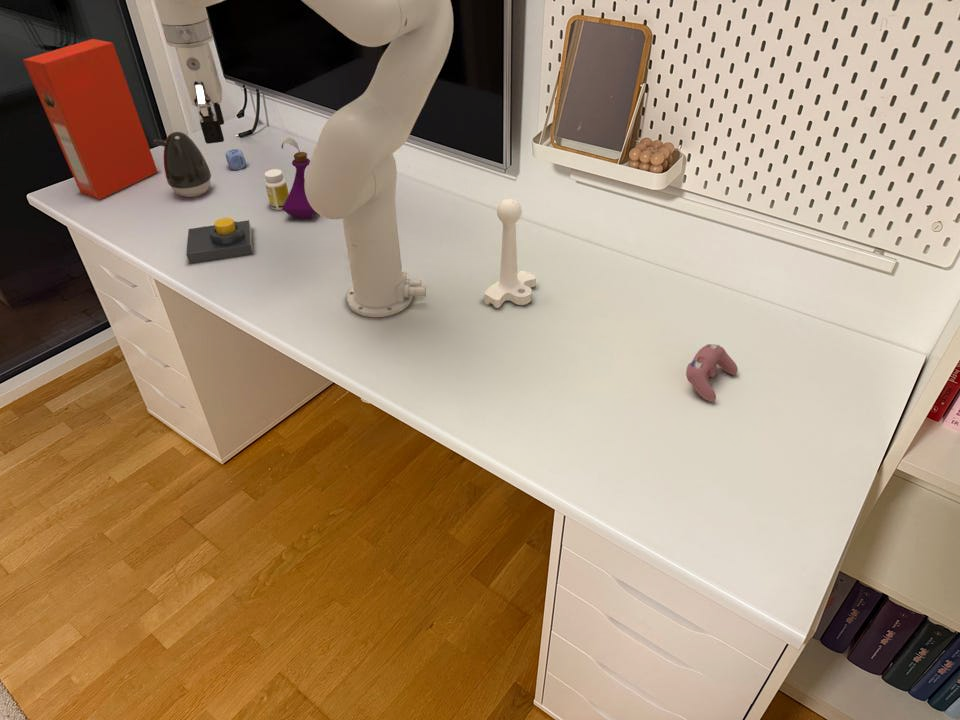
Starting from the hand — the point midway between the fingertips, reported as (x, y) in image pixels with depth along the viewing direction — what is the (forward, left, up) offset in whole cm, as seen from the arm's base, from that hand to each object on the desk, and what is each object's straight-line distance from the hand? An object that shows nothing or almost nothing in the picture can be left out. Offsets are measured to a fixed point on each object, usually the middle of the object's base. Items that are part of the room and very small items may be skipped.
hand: (215, 132), depth 128 cm
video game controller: (-89, +33, -28) cm, 99 cm away
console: (+8, -6, -28) cm, 30 cm away
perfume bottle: (-6, -21, -28) cm, 36 cm away
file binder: (+46, -35, -28) cm, 65 cm away
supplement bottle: (+1, -25, -28) cm, 38 cm away
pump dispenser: (+25, -31, -28) cm, 49 cm away
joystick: (-56, +10, -28) cm, 63 cm away
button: (+6, -6, -24) cm, 25 cm away
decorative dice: (+19, -46, -28) cm, 57 cm away
